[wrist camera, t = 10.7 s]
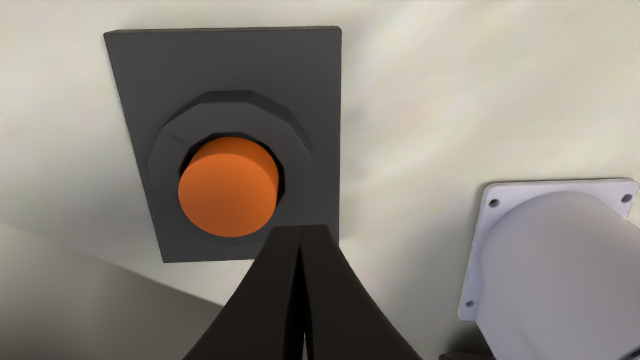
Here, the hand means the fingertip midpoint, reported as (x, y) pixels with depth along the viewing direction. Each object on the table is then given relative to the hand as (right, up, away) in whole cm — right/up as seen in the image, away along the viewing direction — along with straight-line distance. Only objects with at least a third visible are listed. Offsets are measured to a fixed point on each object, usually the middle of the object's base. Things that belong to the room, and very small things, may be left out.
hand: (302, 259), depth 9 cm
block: (-3, +3, +9) cm, 10 cm away
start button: (-3, +2, +6) cm, 7 cm away
